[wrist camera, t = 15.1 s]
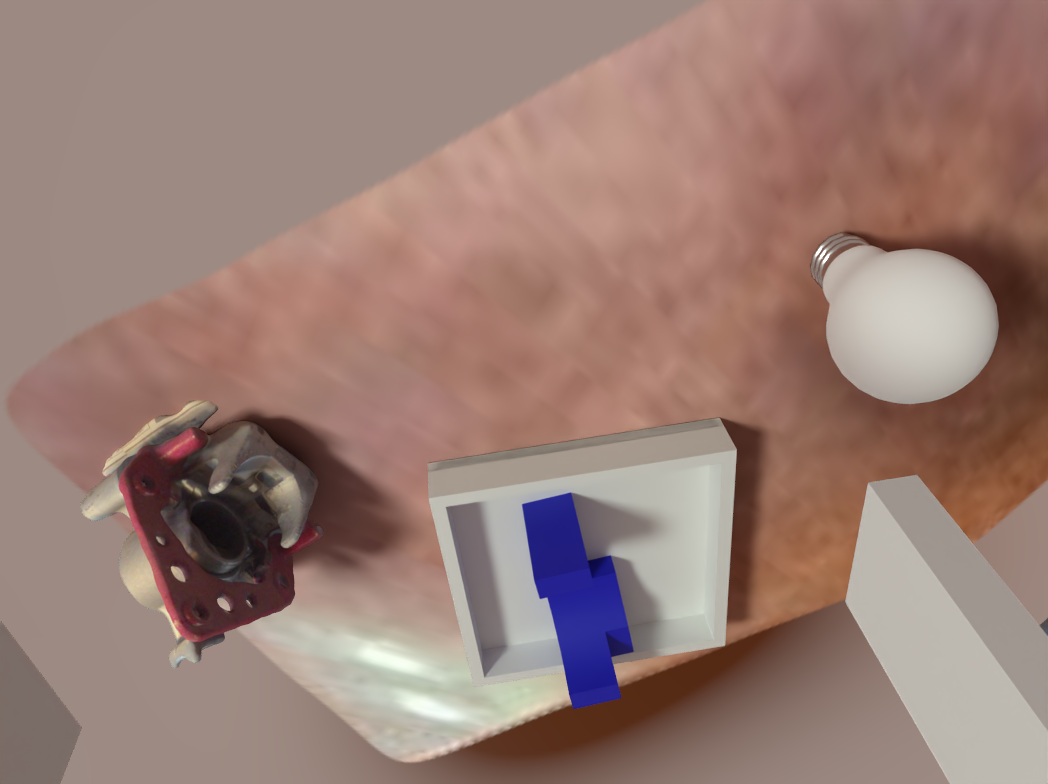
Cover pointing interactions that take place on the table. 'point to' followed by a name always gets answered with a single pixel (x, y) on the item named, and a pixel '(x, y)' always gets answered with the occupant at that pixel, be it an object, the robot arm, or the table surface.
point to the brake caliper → (207, 523)
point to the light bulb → (904, 319)
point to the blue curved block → (577, 599)
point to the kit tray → (591, 541)
